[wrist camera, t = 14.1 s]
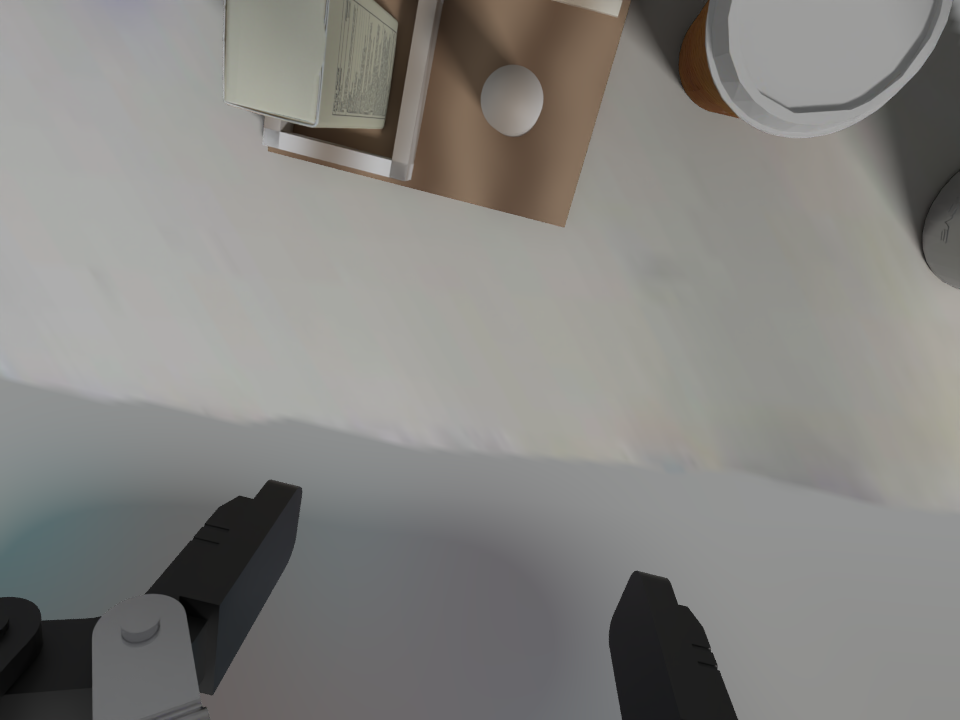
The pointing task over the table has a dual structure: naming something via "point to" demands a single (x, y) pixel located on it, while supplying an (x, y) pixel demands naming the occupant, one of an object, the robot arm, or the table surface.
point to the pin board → (461, 115)
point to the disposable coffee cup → (806, 59)
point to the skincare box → (309, 60)
